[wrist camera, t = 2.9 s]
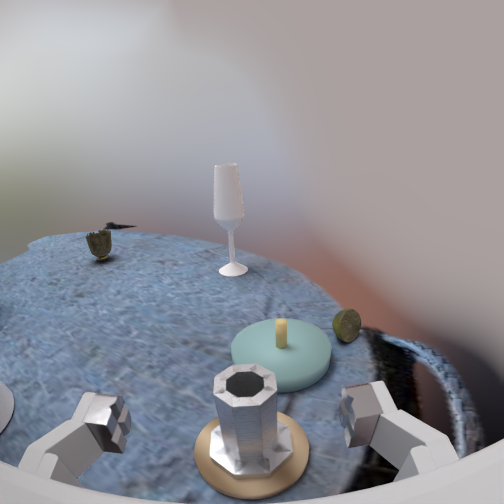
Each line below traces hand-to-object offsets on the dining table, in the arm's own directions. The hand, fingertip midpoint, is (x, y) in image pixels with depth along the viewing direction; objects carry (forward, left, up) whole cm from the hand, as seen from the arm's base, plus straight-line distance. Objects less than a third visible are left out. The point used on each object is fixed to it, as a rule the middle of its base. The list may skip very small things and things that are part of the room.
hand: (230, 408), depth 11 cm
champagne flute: (+42, +44, -22) cm, 65 cm away
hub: (+24, +16, -22) cm, 36 cm away
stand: (+9, +8, -22) cm, 25 cm away
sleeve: (+9, +8, -20) cm, 24 cm away
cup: (+24, +79, -22) cm, 86 cm away
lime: (+34, +11, -22) cm, 42 cm away
